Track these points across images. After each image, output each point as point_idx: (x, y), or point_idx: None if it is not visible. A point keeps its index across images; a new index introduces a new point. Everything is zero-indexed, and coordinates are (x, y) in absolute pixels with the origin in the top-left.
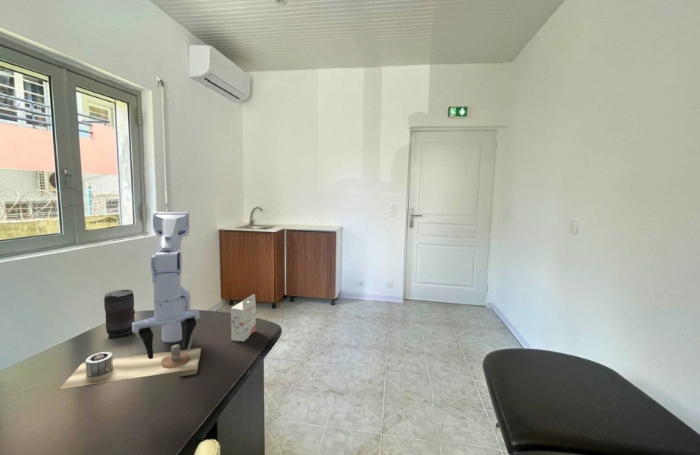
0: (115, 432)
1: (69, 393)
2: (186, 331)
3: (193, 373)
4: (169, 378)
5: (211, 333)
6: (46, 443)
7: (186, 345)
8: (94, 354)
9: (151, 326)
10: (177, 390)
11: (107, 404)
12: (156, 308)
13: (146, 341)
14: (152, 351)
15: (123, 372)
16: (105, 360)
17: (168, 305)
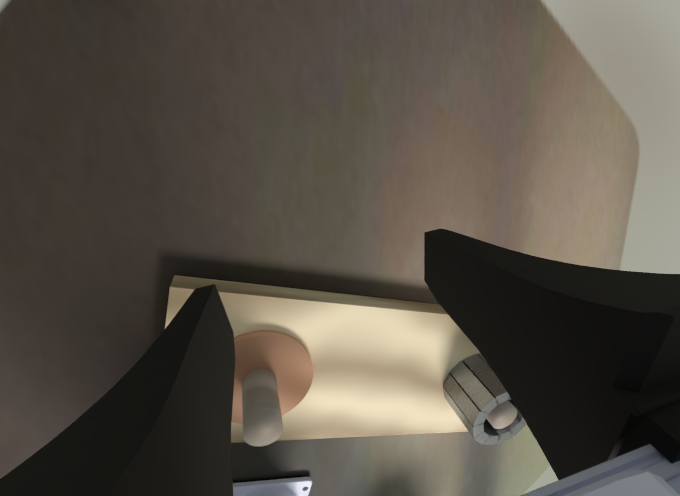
0: (463, 29)
1: None
2: (165, 400)
3: (187, 278)
4: (283, 284)
5: None
6: (591, 104)
7: (195, 300)
8: (511, 435)
9: (653, 473)
10: (256, 184)
11: (462, 215)
12: None
13: (595, 273)
14: (459, 246)
15: (421, 353)
16: (492, 395)
17: None
